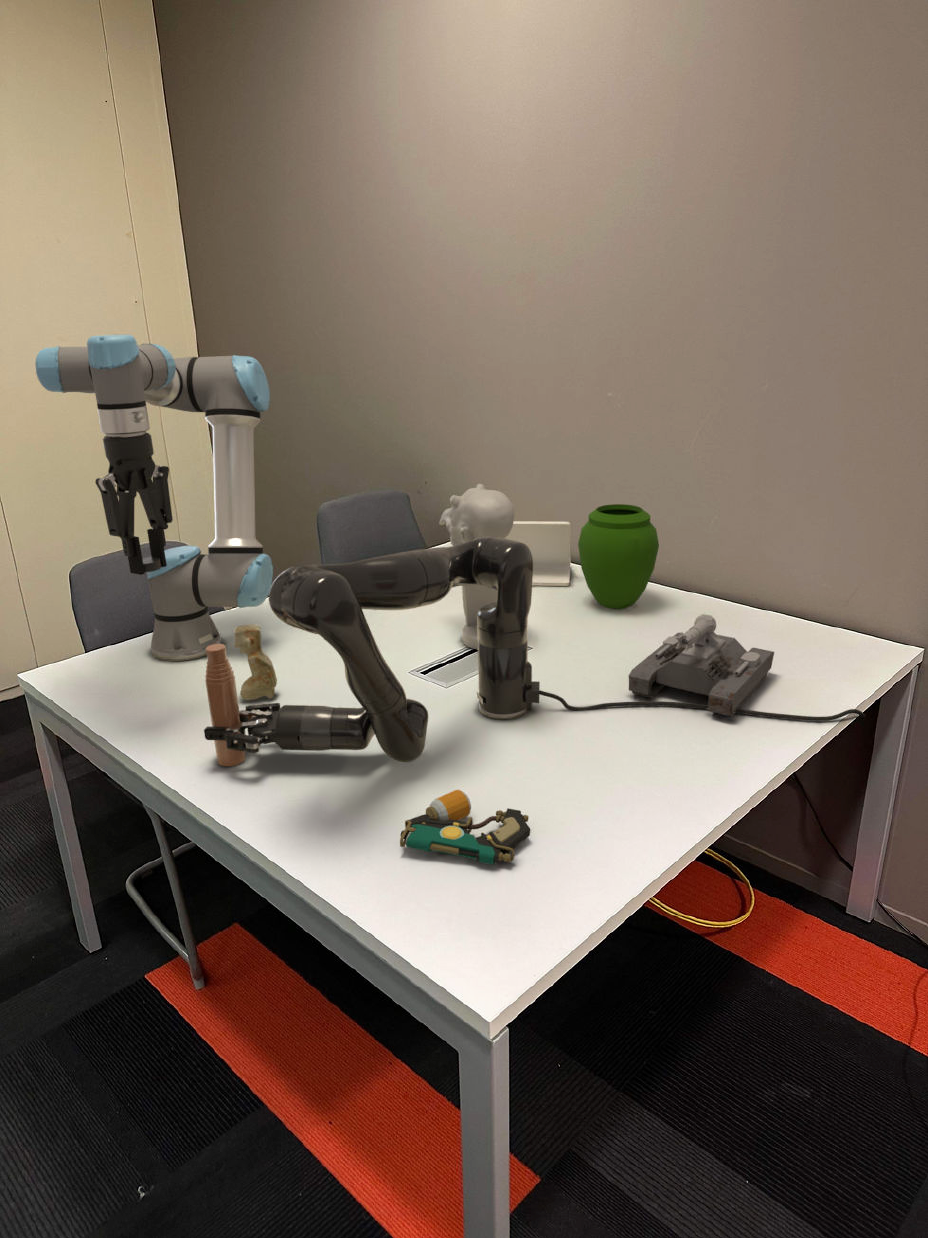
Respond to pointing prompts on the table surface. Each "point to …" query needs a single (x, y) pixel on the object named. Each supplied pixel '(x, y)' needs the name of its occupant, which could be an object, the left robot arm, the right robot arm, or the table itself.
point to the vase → (618, 554)
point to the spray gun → (464, 831)
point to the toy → (703, 667)
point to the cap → (151, 564)
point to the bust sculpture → (470, 521)
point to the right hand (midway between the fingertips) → (211, 725)
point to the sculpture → (255, 664)
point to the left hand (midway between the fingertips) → (148, 569)
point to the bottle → (222, 701)
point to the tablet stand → (546, 550)
